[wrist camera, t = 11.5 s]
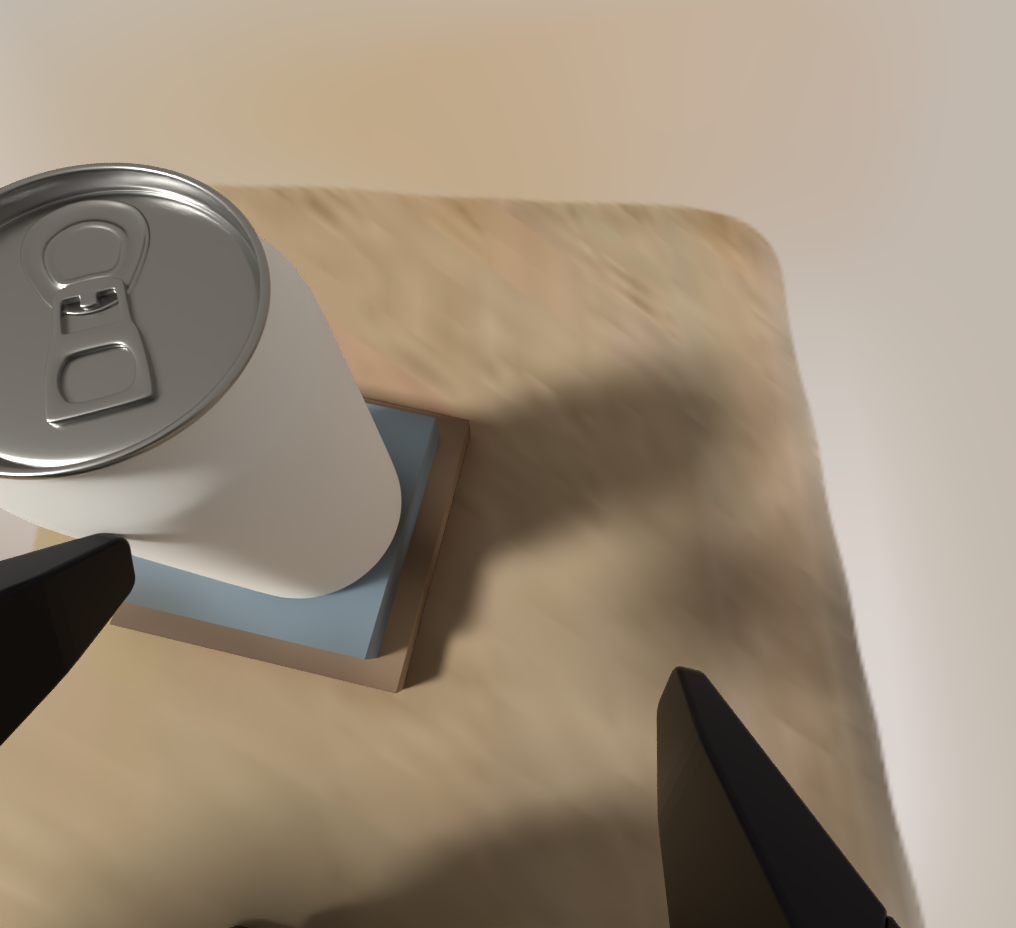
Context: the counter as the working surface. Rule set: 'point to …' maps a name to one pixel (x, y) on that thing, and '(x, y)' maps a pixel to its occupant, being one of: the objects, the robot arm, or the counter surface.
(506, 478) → the counter surface
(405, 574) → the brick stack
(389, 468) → the can
